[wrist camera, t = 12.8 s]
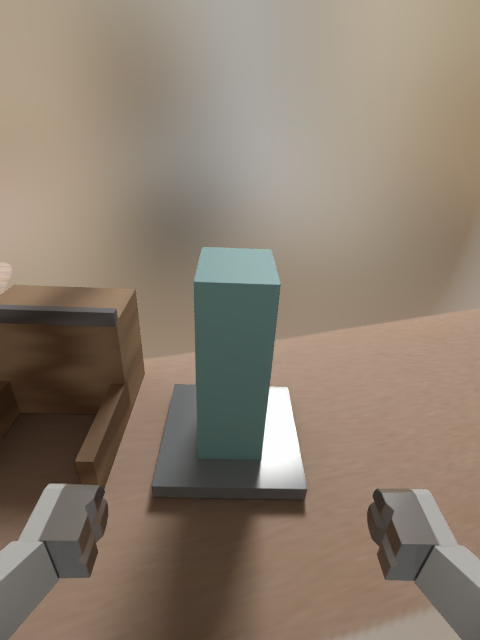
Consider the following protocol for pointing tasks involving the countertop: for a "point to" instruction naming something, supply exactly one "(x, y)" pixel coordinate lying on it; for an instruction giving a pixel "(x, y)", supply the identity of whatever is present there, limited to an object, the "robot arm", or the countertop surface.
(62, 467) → the countertop surface
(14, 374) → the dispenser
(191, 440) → the pad
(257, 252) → the tall teal pillar
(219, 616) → the countertop surface
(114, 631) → the countertop surface
